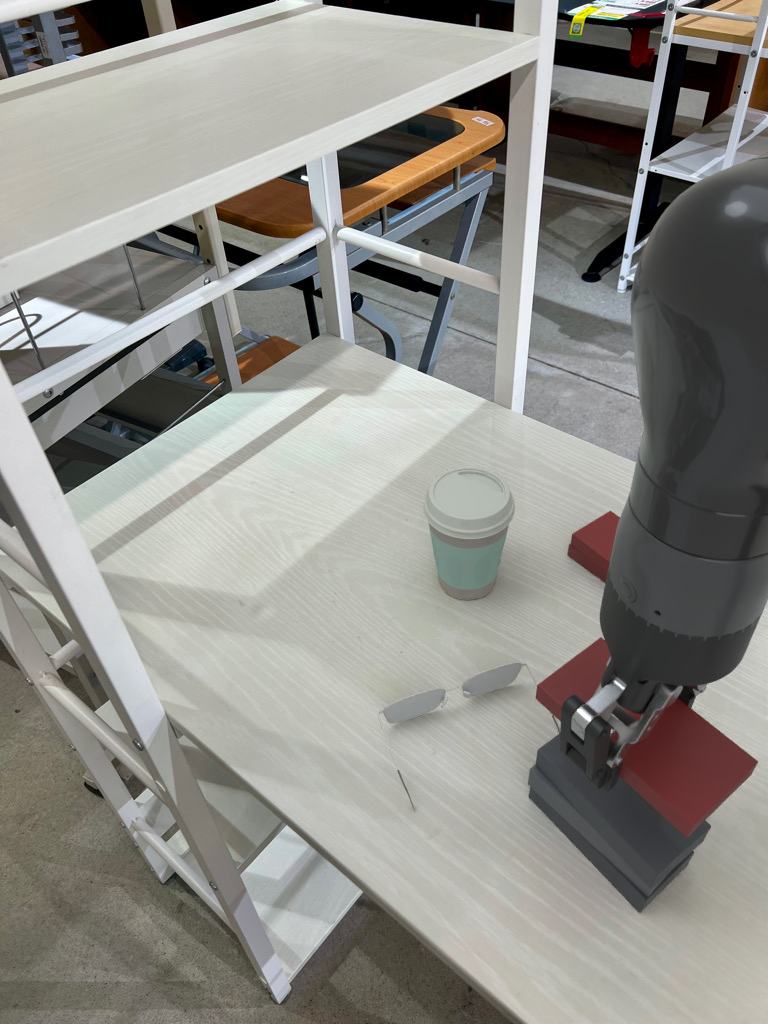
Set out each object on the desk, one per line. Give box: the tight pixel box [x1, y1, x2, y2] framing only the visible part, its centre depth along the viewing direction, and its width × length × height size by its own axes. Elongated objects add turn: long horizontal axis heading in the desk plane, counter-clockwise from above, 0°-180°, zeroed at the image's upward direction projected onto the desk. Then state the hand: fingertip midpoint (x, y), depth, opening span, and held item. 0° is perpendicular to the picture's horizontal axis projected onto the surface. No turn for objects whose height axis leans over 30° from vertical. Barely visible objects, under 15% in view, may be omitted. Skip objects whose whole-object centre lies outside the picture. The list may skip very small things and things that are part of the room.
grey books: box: [527, 732, 712, 914], centre depth 55 cm, size 12×6×7 cm, turn 37°
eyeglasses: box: [376, 661, 561, 812], centre depth 62 cm, size 14×8×4 cm, turn 109°
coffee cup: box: [422, 465, 516, 601], centre depth 73 cm, size 8×8×12 cm
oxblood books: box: [567, 510, 621, 584], centre depth 75 cm, size 12×6×3 cm, turn 37°
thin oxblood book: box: [535, 637, 759, 837], centre depth 47 cm, size 12×6×2 cm, turn 37°
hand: (634, 746), depth 49 cm, fingers closed on thin oxblood book, 6 cm apart
